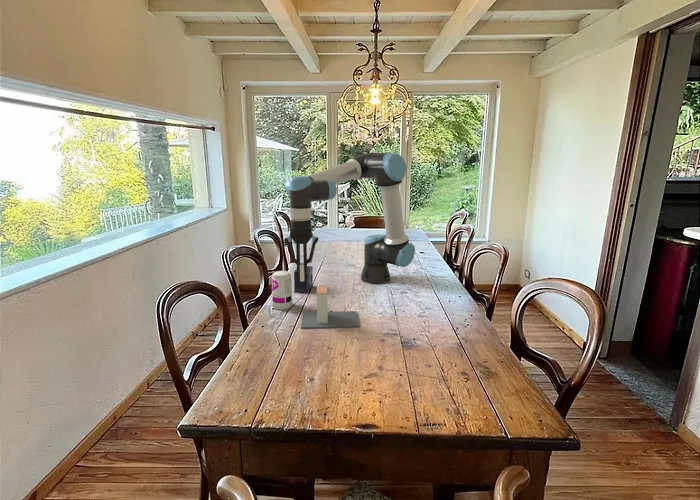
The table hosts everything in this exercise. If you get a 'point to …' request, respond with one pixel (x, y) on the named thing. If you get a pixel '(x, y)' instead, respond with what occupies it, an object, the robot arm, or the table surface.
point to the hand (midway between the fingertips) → (302, 280)
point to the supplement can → (281, 290)
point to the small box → (303, 285)
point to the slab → (322, 305)
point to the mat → (331, 320)
